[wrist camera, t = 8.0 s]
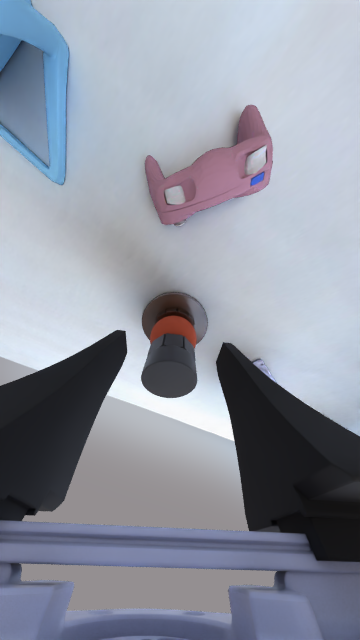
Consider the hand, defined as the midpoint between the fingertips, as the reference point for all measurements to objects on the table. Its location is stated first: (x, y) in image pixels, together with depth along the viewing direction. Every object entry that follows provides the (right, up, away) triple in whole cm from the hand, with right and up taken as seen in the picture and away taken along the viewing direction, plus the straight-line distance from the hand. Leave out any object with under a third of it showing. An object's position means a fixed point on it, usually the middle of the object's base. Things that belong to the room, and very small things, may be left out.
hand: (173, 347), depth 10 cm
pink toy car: (+3, +16, +4) cm, 16 cm away
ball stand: (0, +2, +11) cm, 11 cm away
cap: (0, -1, +5) cm, 6 cm away
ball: (0, 0, +7) cm, 7 cm away
